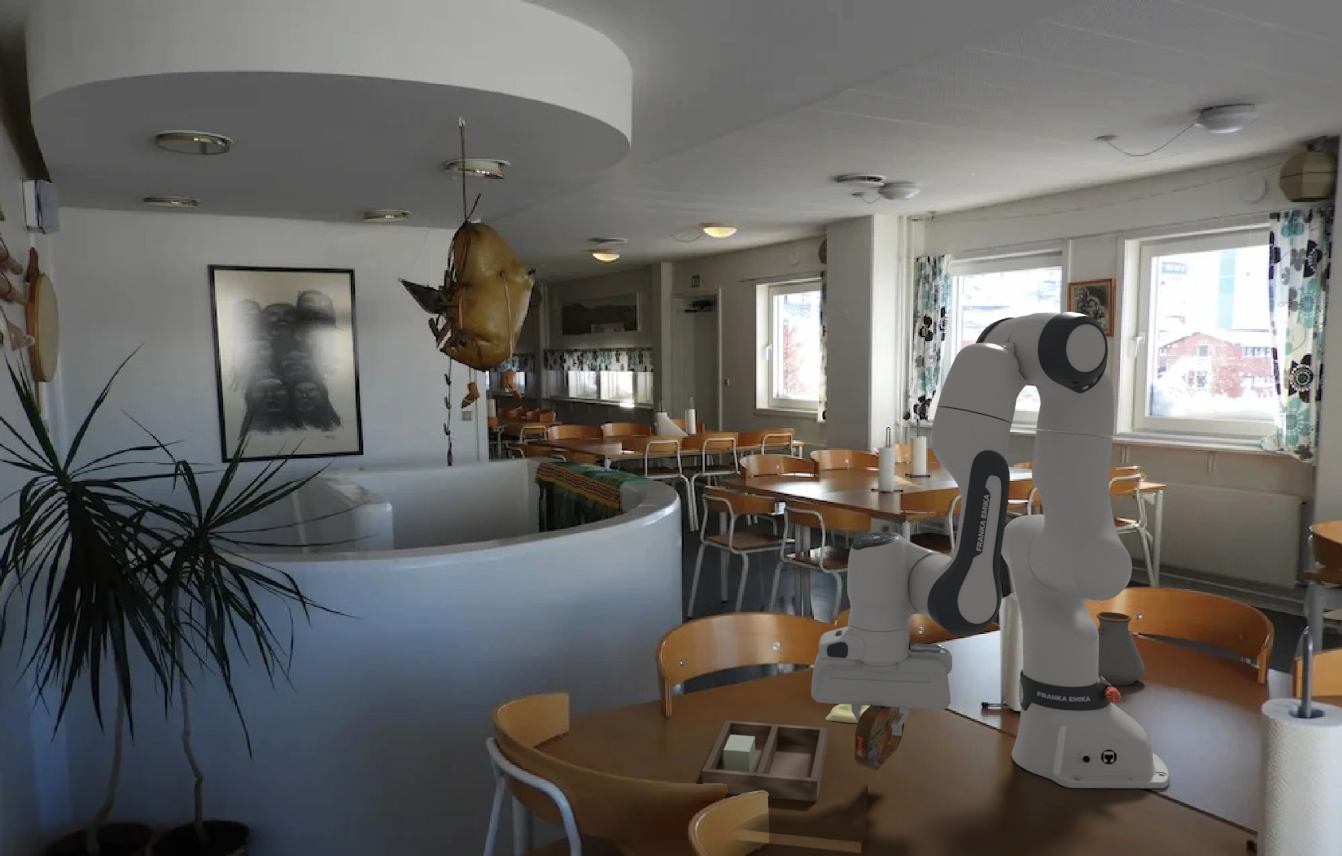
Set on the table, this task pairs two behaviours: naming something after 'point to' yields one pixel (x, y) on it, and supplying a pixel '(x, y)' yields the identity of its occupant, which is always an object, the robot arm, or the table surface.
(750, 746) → the sage block
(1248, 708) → the table surface
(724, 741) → the caddy
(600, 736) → the table surface
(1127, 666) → the coffee pot
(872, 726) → the tin
